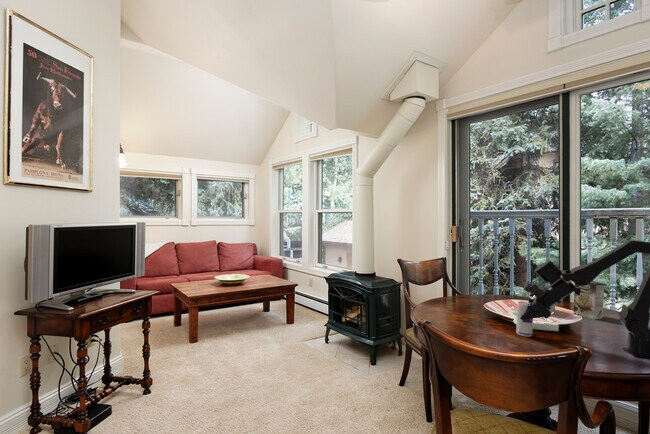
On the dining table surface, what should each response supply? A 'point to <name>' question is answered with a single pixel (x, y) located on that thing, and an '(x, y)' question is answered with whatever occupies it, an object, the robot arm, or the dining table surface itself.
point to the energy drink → (523, 325)
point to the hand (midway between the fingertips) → (520, 316)
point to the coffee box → (590, 300)
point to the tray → (538, 325)
